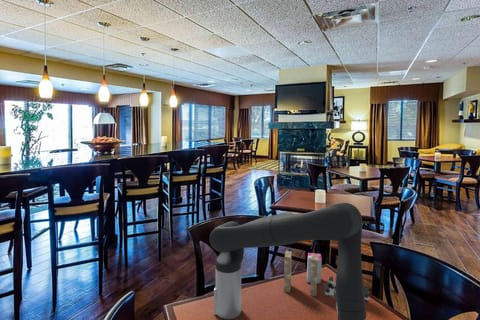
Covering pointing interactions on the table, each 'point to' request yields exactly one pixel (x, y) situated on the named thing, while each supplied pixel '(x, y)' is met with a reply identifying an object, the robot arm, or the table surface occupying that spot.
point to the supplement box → (317, 268)
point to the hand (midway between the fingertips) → (343, 280)
